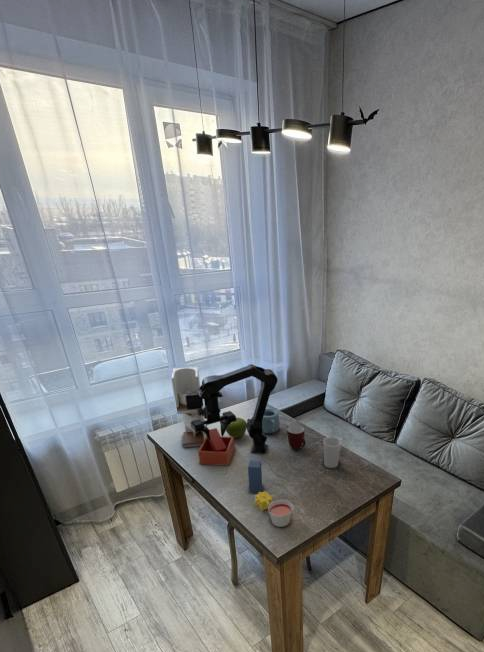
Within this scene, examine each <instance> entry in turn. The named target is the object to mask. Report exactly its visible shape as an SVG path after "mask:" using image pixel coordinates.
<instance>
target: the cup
mask: <svg viewBox="0 0 484 652" xmlns="http://www.w3.org/2000/svg"><path fill="white" fill-rule="evenodd" d="M322 441H323V459H324V460H323V461H324V463H323V465H324V466H325V467H327V468H328V469H329V468H330V469H335V468H337V467H338V466H339V460H340V459H339V458H340V453H341V449H342V439H341V438H339V437H336V436H328V437H327V436H326V437H325V438H324V439H323V440H322Z"/></svg>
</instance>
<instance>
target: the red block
mask: <svg viewBox="0 0 484 652" xmlns="http://www.w3.org/2000/svg"><path fill="white" fill-rule="evenodd" d="M209 433H210V440H208V441H209V443H210V445H211V447H212V449H213V451H215V452H226V446H225V444H224V442H223V440H222V438H221V436H222V435H221V433H220V432H219V430H218V429H217V427H216V428H211V429H209ZM207 439H208V438H207Z"/></svg>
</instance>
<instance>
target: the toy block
mask: <svg viewBox="0 0 484 652" xmlns="http://www.w3.org/2000/svg"><path fill="white" fill-rule="evenodd" d="M254 497H255V499H254V505H255V506H257V507H258V508H259V509H260V510H261V511H264V510H268V507H269V505H270V504H271V503H272V502H273V498H274V497H275V495H274V494H271V495H270V494H269V493H268V491H267V490H265V491H261V492H258V493H256V494H255V495H254Z"/></svg>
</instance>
